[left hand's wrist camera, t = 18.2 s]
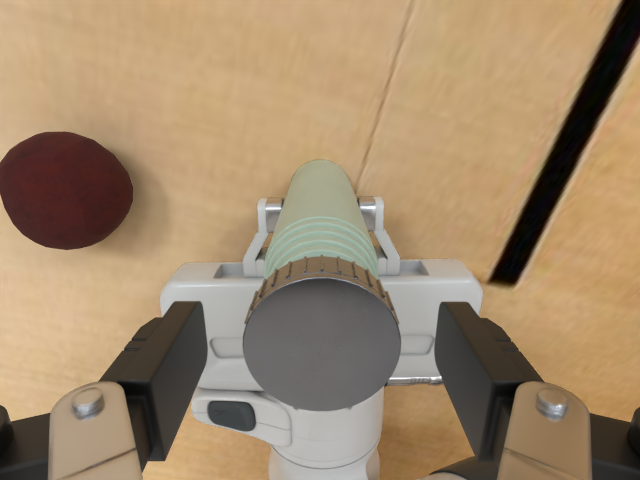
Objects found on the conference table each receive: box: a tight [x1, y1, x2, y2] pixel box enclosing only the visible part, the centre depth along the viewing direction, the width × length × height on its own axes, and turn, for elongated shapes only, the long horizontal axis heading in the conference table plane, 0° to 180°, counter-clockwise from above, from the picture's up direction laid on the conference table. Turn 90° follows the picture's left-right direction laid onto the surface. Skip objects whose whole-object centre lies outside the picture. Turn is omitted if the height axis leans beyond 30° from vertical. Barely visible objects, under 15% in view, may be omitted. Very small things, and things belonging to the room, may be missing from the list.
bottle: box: [264, 160, 379, 280], centre depth 21 cm, size 5×5×20 cm
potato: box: [0, 132, 133, 250], centre depth 26 cm, size 7×8×7 cm
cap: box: [242, 255, 401, 411], centre depth 12 cm, size 4×5×2 cm
